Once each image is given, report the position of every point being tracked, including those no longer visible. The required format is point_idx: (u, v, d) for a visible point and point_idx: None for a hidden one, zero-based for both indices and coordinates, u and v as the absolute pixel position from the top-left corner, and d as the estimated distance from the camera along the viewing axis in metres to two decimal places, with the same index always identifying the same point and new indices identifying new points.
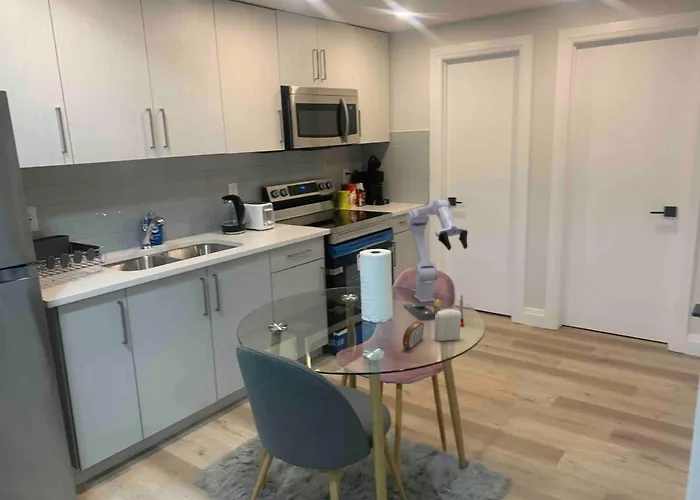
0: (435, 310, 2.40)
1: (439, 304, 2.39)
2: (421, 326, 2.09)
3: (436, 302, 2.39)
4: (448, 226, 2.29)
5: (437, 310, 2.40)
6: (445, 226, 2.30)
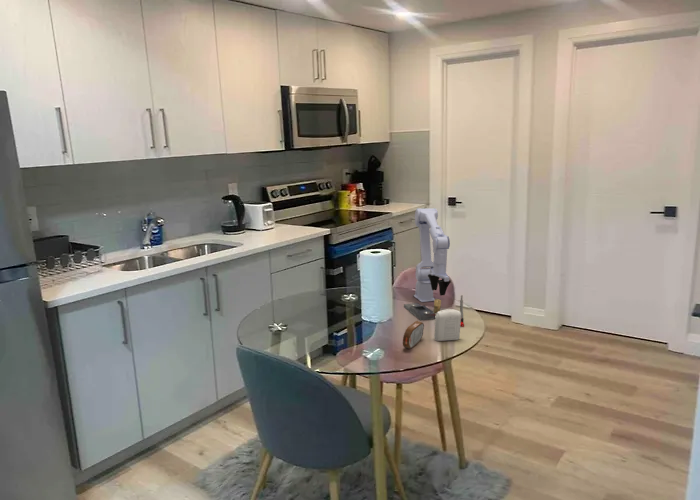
0: (435, 310, 2.40)
1: (439, 304, 2.39)
2: (421, 326, 2.09)
3: (436, 302, 2.39)
4: None
5: (437, 310, 2.40)
6: None
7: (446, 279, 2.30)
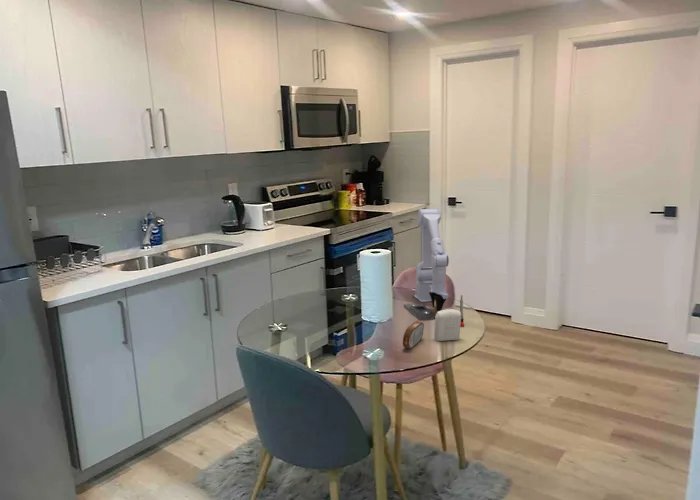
0: (435, 310, 2.40)
1: None
2: (421, 326, 2.09)
3: None
4: None
5: None
6: None
7: (445, 296, 2.32)
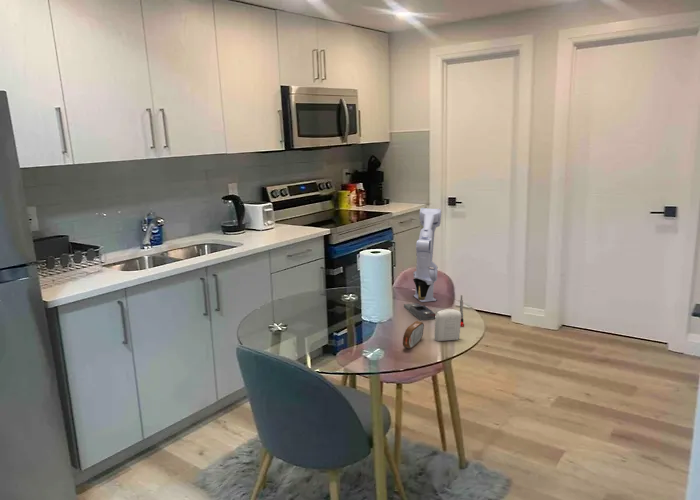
0: (419, 296, 2.37)
1: None
2: (421, 326, 2.09)
3: None
4: None
5: None
6: None
7: (429, 282, 2.29)
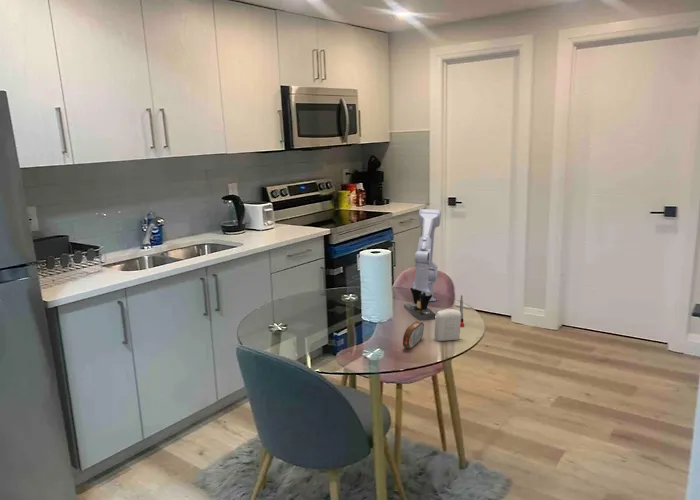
0: None
1: None
2: (421, 326, 2.09)
3: (419, 303, 2.37)
4: None
5: None
6: None
7: (427, 293, 2.30)
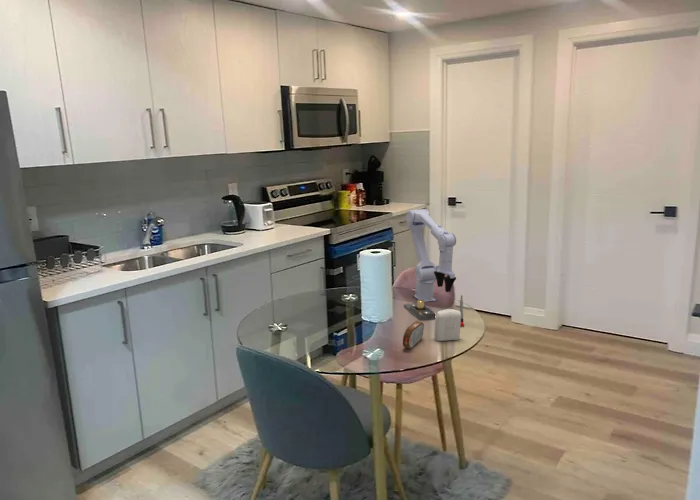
0: None
1: (422, 305, 2.38)
2: (421, 326, 2.09)
3: (419, 303, 2.37)
4: (439, 267, 2.43)
5: None
6: None
7: (452, 276, 2.36)
